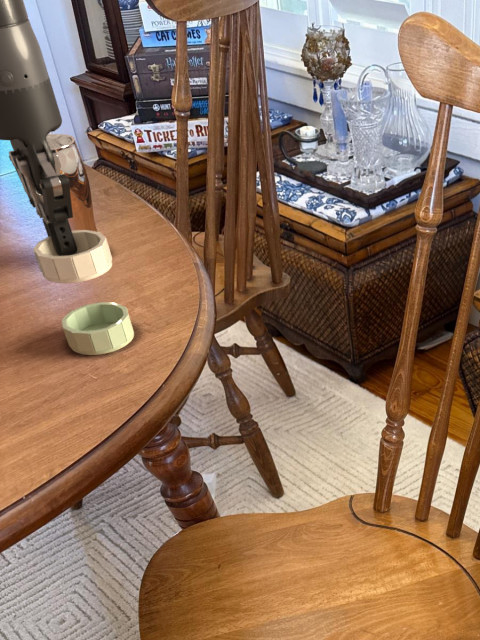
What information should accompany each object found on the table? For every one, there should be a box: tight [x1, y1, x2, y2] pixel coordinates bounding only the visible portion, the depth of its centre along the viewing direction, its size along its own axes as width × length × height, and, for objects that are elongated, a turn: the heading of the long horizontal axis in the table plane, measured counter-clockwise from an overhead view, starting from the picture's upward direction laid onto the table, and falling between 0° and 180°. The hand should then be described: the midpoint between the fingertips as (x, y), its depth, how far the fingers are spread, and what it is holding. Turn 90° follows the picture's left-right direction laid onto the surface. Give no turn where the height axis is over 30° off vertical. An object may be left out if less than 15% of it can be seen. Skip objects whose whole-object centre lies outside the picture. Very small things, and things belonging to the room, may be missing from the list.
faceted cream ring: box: [32, 230, 113, 284], centre depth 85 cm, size 7×7×3 cm
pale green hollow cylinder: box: [61, 301, 135, 356], centre depth 91 cm, size 7×7×3 cm
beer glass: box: [46, 133, 98, 232], centre depth 104 cm, size 7×7×15 cm
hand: (65, 251), depth 87 cm, fingers closed on faceted cream ring, 1 cm apart
